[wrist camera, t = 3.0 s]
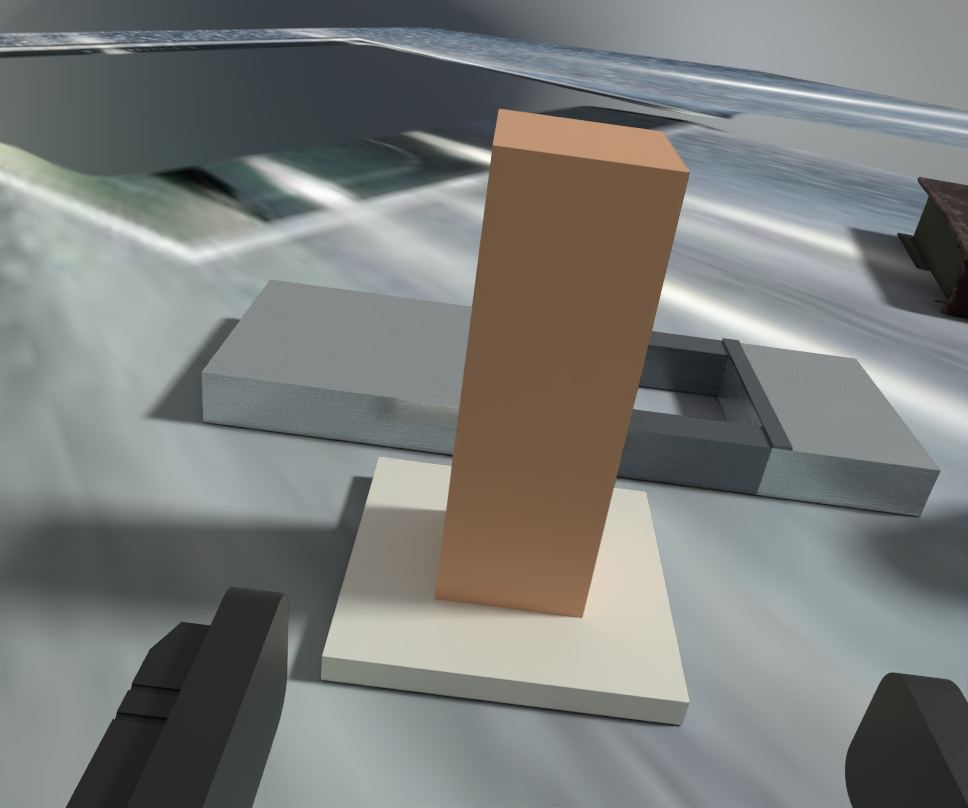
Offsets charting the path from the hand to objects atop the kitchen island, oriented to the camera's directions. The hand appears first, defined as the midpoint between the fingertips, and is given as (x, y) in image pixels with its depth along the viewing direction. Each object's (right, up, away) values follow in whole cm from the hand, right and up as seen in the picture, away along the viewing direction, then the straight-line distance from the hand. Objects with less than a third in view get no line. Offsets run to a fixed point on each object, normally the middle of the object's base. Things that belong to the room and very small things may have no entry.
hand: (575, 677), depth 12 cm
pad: (-1, -2, +14) cm, 14 cm away
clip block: (0, -1, +13) cm, 13 cm away
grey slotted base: (+2, +3, +23) cm, 24 cm away
